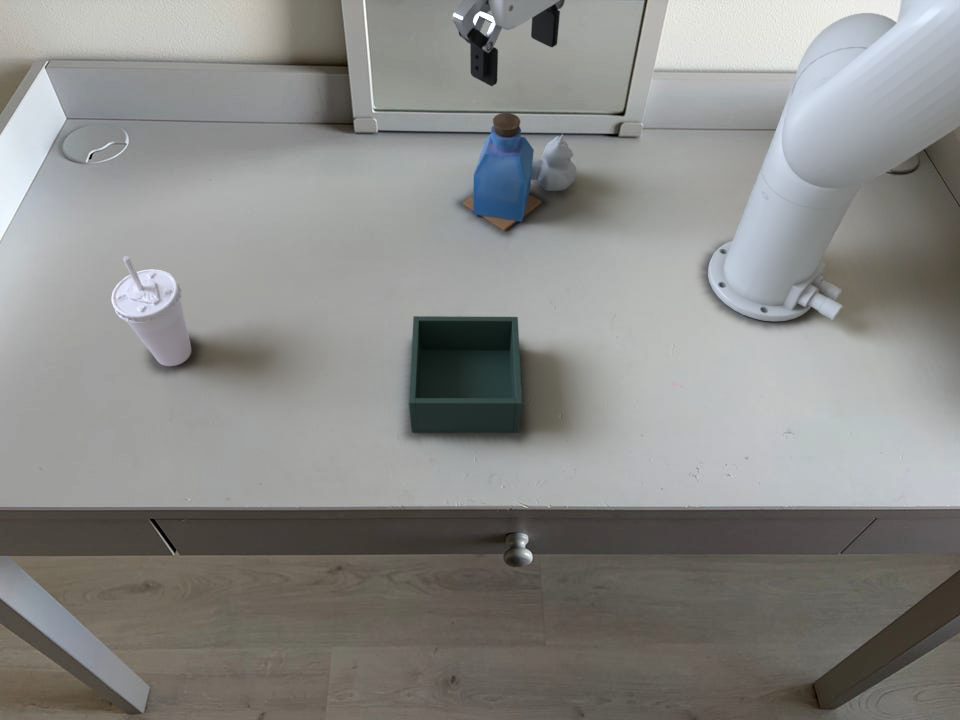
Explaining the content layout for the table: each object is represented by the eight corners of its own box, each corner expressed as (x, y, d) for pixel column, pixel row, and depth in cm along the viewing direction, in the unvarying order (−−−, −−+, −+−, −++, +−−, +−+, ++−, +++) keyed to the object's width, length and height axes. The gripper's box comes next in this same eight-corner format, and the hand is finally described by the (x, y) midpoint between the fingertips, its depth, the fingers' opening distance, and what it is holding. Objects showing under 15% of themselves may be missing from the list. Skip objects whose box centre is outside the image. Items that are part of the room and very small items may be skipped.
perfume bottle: (521, 221, 96) (528, 141, 87) (472, 214, 97) (474, 133, 87) (530, 189, 100) (537, 109, 90) (482, 181, 100) (485, 101, 91)
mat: (540, 203, 99) (541, 201, 99) (504, 231, 96) (504, 229, 95) (499, 178, 102) (499, 176, 101) (463, 204, 98) (463, 202, 98)
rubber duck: (575, 199, 99) (583, 148, 93) (524, 198, 99) (528, 147, 93) (573, 171, 103) (580, 120, 96) (523, 170, 103) (527, 119, 96)
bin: (514, 347, 85) (517, 316, 81) (518, 432, 78) (522, 403, 74) (415, 347, 85) (413, 316, 80) (411, 432, 78) (408, 403, 74)
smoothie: (179, 320, 86) (137, 227, 75) (216, 349, 84) (179, 258, 73) (130, 355, 83) (79, 263, 72) (167, 387, 81) (121, 297, 70)
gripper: (488, -70, 63) (486, 111, 77) (614, -134, 71) (592, 41, 85) (423, -97, 66) (432, 81, 80) (550, -156, 74) (539, 16, 88)
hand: (514, 60), depth 82 cm, fingers open, 9 cm apart
